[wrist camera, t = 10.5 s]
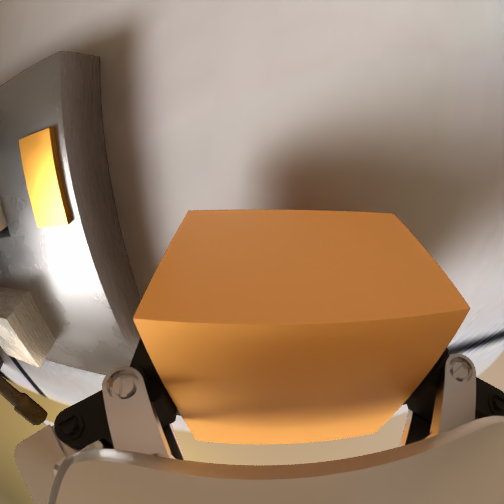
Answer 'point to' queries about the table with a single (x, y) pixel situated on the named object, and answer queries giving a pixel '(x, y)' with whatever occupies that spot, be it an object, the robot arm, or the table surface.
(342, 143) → the table surface
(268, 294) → the cap
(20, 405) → the hand tool
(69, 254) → the panel
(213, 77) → the table surface
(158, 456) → the robot arm
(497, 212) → the table surface
